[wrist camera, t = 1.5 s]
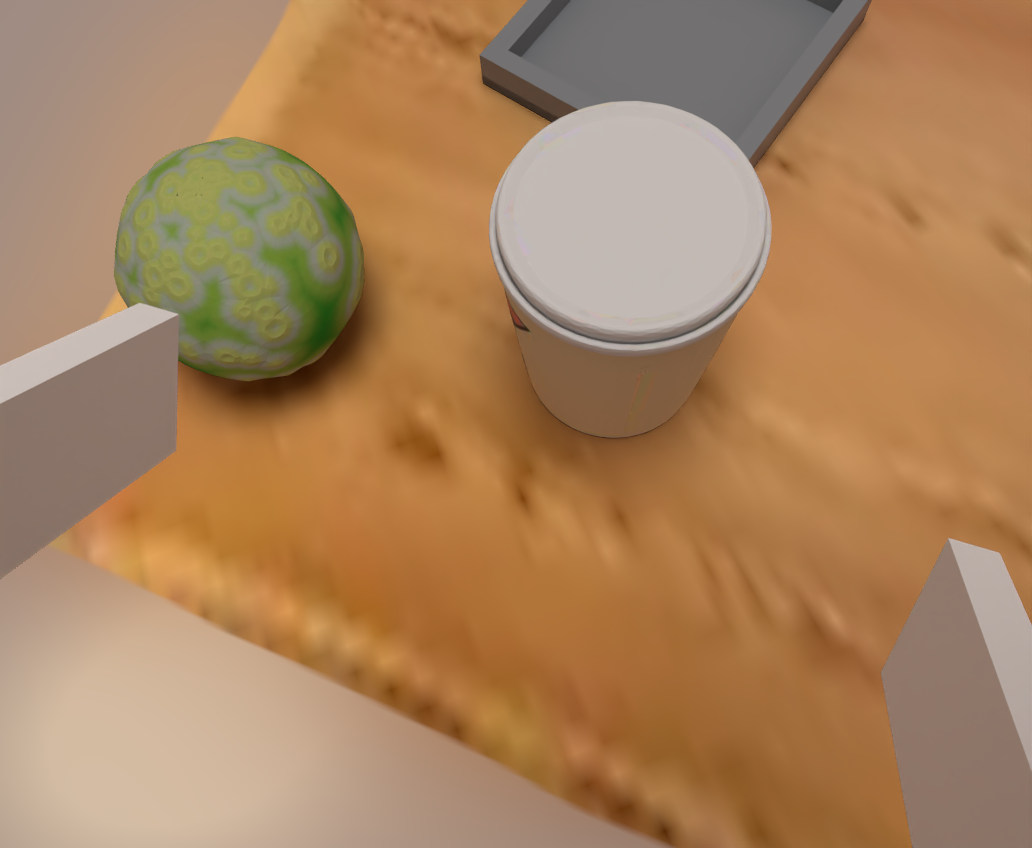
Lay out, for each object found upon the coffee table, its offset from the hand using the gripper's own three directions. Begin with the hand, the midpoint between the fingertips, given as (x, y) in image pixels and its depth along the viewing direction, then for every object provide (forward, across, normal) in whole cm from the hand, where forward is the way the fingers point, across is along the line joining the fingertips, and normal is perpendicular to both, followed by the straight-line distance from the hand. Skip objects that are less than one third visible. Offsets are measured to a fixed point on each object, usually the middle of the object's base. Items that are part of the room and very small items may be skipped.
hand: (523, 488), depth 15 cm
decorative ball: (+24, -16, -9) cm, 30 cm away
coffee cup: (+25, -1, -7) cm, 26 cm away
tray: (+37, -2, +5) cm, 38 cm away
